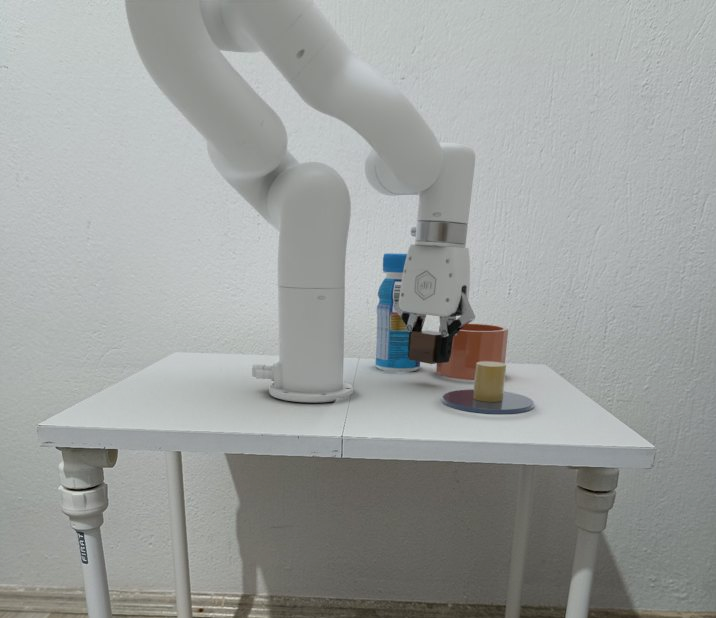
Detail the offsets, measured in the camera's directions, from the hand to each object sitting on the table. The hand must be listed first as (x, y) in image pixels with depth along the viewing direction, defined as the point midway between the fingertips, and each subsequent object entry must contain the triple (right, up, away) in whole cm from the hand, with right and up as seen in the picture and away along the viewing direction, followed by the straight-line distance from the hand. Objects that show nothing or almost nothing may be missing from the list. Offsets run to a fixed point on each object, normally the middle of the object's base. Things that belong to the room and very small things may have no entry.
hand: (428, 358), depth 104 cm
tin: (+8, -1, +12) cm, 15 cm away
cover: (+7, -8, -9) cm, 14 cm away
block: (0, 0, 0) cm, 0 cm away
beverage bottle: (-4, +1, +18) cm, 18 cm away
